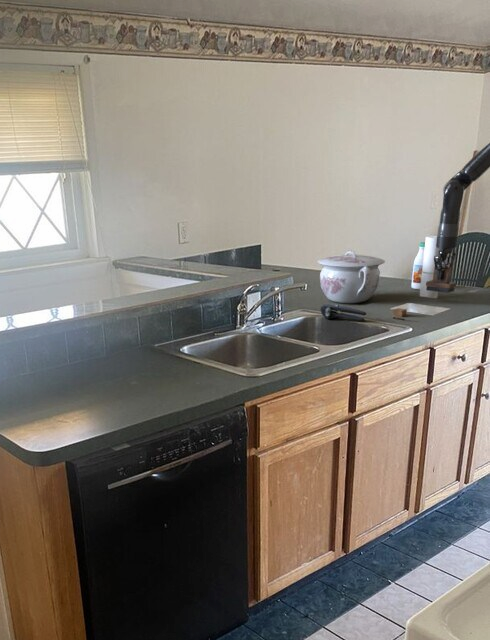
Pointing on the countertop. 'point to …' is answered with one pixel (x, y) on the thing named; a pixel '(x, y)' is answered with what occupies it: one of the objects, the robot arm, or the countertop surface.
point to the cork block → (399, 313)
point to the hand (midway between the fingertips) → (441, 279)
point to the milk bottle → (418, 267)
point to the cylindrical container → (428, 266)
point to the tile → (421, 308)
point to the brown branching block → (441, 282)
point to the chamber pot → (349, 277)
